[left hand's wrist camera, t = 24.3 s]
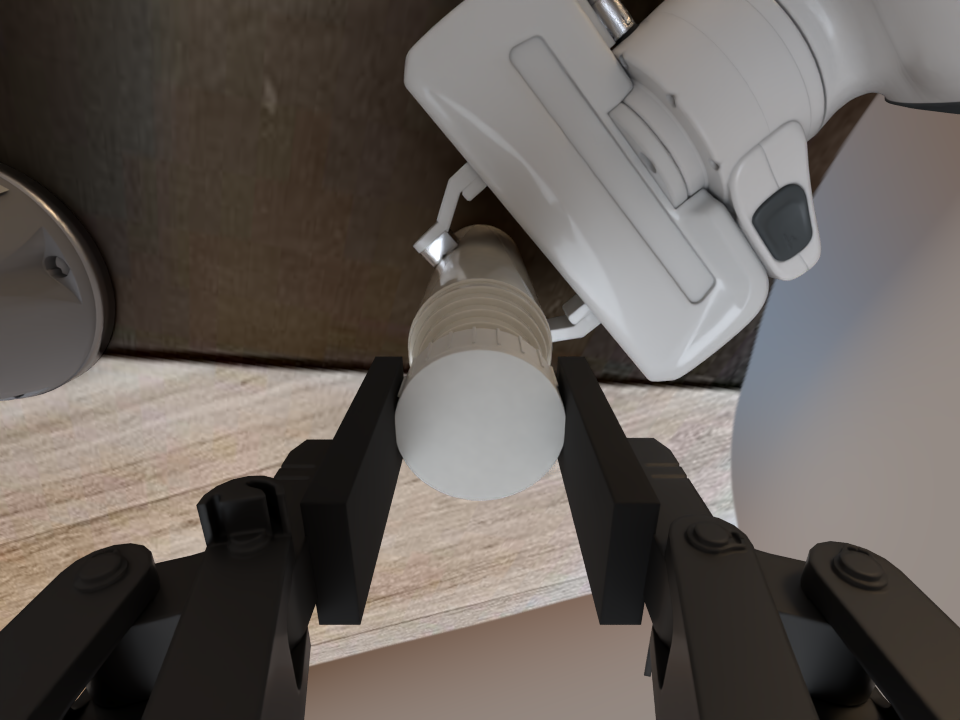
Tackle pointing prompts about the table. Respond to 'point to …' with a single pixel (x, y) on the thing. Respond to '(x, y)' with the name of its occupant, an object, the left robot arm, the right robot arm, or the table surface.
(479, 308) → the bottle
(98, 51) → the table surface
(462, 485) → the cap
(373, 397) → the left robot arm
